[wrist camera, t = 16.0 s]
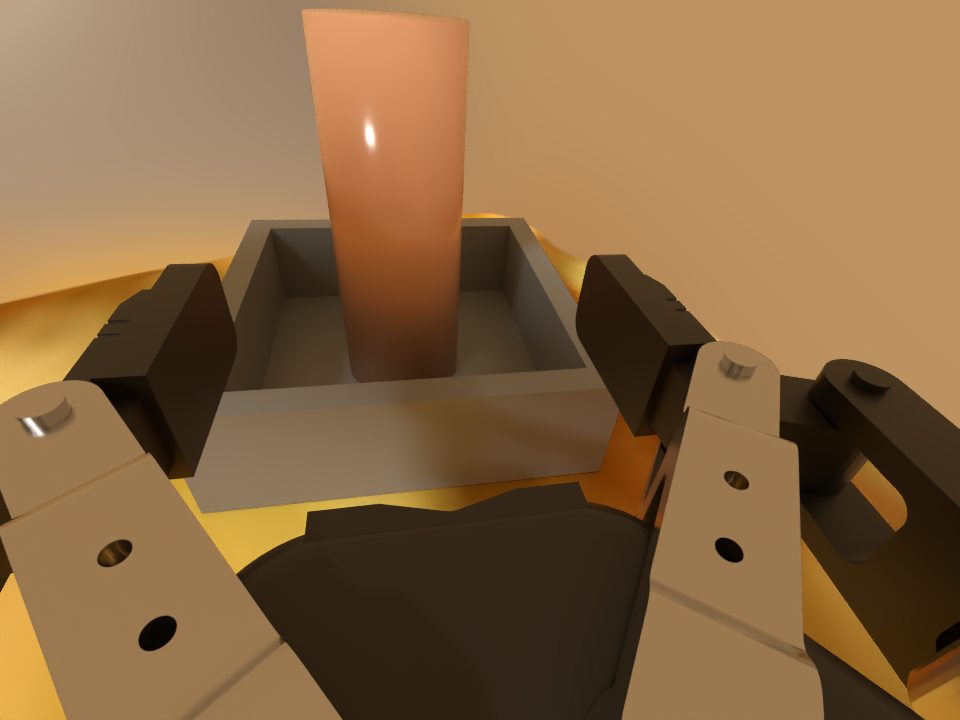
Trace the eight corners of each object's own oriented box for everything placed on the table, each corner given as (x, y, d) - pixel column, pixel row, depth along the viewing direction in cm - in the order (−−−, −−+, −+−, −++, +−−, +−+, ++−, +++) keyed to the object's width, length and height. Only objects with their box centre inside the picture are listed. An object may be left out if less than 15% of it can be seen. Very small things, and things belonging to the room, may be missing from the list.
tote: (201, 513, 18) (155, 421, 15) (269, 295, 31) (251, 220, 28) (599, 471, 21) (628, 385, 18) (515, 287, 34) (523, 217, 31)
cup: (347, 400, 23) (290, 15, 14) (351, 333, 27) (310, 6, 18) (463, 392, 24) (482, 26, 15) (450, 328, 28) (457, 15, 19)
